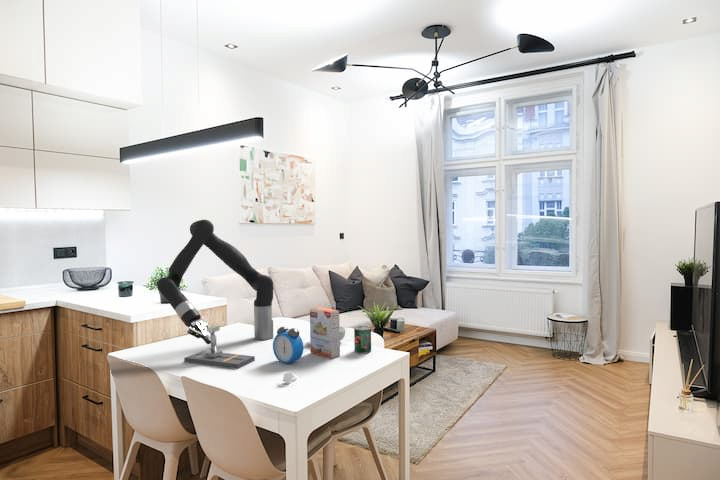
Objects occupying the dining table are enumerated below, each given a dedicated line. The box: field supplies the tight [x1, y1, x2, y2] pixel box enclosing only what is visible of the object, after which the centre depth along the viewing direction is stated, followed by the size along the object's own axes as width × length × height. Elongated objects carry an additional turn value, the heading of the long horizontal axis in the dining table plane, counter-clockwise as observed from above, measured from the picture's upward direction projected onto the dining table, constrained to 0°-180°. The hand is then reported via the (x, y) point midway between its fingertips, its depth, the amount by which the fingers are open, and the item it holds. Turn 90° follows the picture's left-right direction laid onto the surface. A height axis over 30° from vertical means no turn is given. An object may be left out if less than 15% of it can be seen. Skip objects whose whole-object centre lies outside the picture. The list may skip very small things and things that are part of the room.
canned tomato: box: [353, 325, 372, 354], centre depth 213 cm, size 8×8×11 cm
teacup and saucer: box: [276, 371, 300, 388], centre depth 171 cm, size 9×8×4 cm
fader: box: [205, 325, 224, 358], centre depth 200 cm, size 5×6×13 cm
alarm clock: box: [272, 326, 304, 365], centre depth 197 cm, size 13×6×15 cm, turn 54°
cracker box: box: [309, 306, 341, 359], centre depth 207 cm, size 14×6×21 cm, turn 47°
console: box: [183, 350, 256, 370], centre depth 199 cm, size 28×12×2 cm, turn 68°
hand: (210, 342), depth 201 cm, fingers closed
